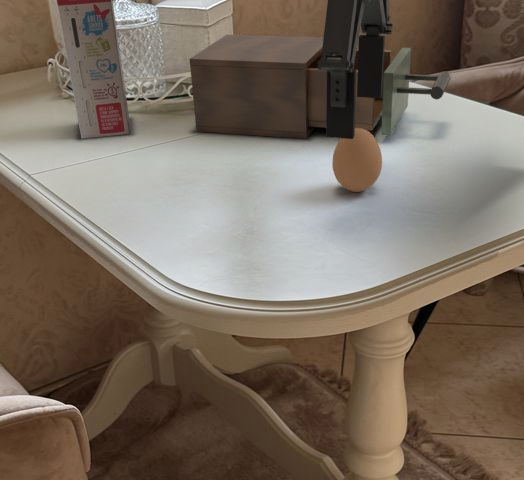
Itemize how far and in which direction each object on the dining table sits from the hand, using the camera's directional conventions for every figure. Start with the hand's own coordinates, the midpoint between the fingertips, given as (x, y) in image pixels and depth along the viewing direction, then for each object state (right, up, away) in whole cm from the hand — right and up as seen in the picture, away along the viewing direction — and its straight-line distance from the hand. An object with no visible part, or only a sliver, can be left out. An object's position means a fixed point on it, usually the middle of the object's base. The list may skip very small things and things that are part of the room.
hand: (355, 115), depth 84 cm
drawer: (+4, +6, +22) cm, 23 cm away
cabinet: (-9, +8, +27) cm, 30 cm away
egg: (+1, -7, +5) cm, 9 cm away
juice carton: (-32, +6, +27) cm, 42 cm away
